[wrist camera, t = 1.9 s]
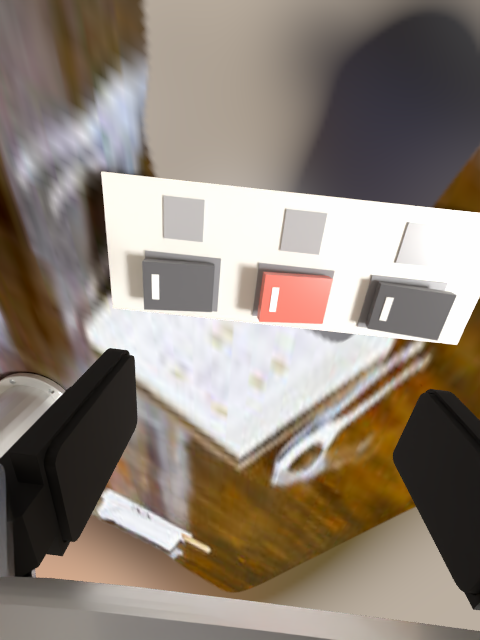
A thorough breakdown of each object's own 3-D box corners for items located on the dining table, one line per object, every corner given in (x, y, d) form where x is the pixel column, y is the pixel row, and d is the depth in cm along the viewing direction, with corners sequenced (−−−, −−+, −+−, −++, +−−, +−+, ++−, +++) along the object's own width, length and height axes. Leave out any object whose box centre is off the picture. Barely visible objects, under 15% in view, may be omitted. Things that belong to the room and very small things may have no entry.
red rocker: (328, 275, 29) (333, 279, 28) (318, 319, 31) (322, 324, 30) (263, 271, 28) (266, 274, 27) (257, 317, 30) (259, 322, 29)
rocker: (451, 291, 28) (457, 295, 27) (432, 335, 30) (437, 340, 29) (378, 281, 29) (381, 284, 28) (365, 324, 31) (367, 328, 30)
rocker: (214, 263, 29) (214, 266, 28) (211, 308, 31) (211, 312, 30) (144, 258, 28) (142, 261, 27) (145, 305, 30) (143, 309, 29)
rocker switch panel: (597, 227, 31) (647, 231, 27) (532, 340, 36) (565, 356, 33) (119, 174, 30) (100, 171, 27) (126, 297, 36) (112, 308, 32)
